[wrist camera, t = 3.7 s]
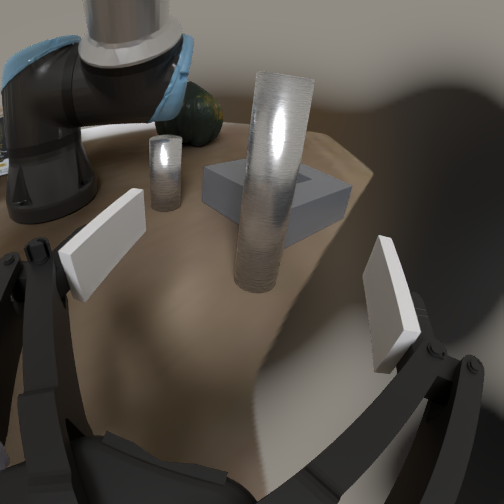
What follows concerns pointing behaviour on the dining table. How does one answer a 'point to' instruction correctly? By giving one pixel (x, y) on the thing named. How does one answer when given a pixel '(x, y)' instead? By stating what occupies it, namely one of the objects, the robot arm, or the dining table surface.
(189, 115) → the squash
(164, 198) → the short steel pin
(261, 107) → the long steel pin
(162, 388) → the dining table surface
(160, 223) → the dining table surface
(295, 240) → the charcoal collar block
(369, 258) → the robot arm
